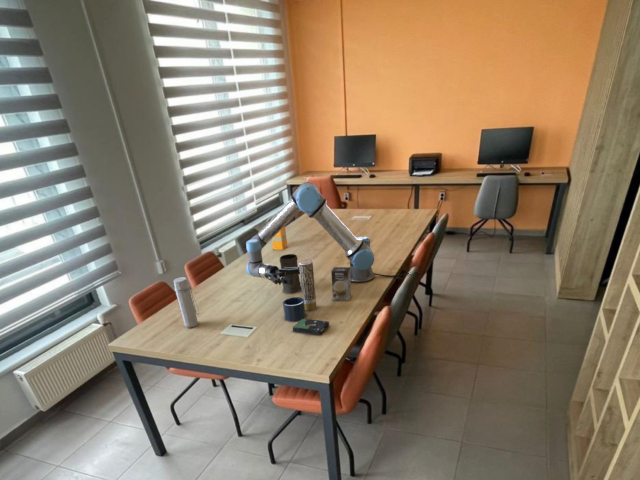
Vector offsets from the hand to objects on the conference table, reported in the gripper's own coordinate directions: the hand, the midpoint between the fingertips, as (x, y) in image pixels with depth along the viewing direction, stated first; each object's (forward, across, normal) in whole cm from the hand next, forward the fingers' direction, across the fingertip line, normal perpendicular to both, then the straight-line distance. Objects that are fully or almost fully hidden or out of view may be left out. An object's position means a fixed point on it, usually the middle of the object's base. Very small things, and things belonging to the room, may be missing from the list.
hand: (299, 277), depth 231 cm
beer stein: (-22, -18, -16) cm, 33 cm away
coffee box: (+12, -18, -16) cm, 28 cm away
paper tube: (+5, 0, -16) cm, 17 cm away
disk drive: (+21, +19, -16) cm, 32 cm away
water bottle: (-40, +44, -16) cm, 61 cm away
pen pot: (+4, +12, -16) cm, 20 cm away
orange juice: (-85, -77, -16) cm, 116 cm away
